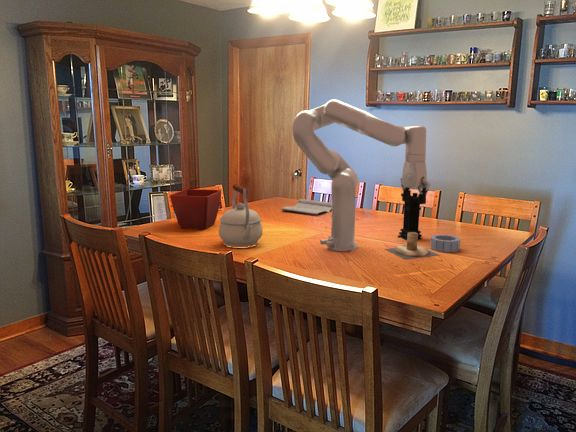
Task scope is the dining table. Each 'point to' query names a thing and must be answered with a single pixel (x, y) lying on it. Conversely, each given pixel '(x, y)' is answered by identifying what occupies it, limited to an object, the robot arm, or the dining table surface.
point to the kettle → (240, 223)
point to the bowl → (445, 243)
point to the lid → (412, 247)
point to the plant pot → (196, 207)
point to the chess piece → (410, 217)
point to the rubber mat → (409, 256)
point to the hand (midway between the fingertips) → (414, 202)
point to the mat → (309, 207)
